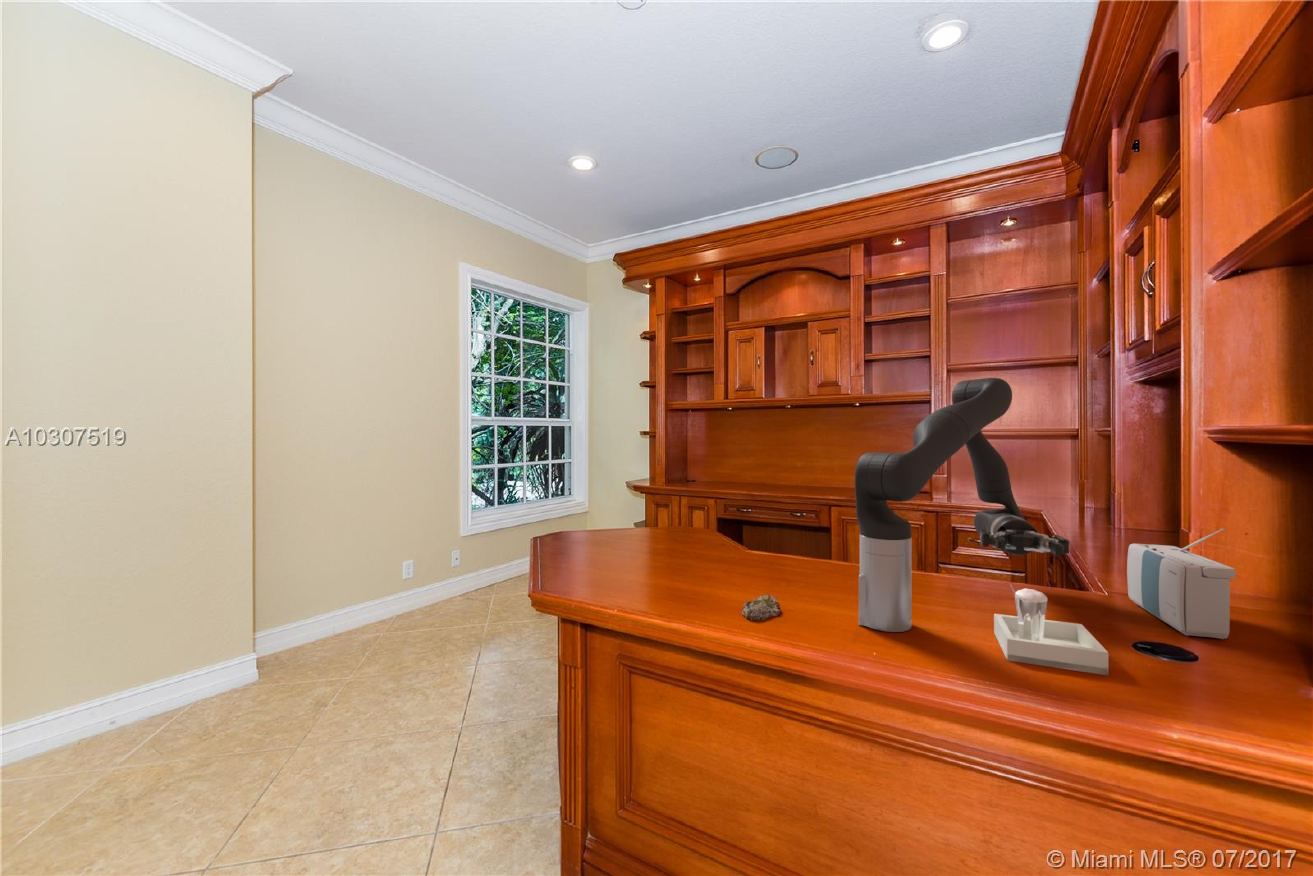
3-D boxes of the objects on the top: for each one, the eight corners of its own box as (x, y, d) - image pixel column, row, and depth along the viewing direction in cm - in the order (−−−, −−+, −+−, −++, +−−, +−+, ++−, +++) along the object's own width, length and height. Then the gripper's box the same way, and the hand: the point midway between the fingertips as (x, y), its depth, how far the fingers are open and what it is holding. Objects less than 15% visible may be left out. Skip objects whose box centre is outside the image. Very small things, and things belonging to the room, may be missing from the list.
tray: (1007, 660, 86) (1007, 639, 86) (994, 632, 98) (994, 613, 98) (1108, 675, 80) (1108, 652, 80) (1081, 644, 92) (1081, 624, 92)
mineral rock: (749, 592, 116) (783, 588, 112) (755, 612, 115) (789, 608, 111) (728, 607, 107) (764, 603, 103) (734, 629, 106) (770, 626, 102)
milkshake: (1005, 636, 93) (1005, 580, 93) (1039, 639, 92) (1039, 582, 91) (1015, 647, 89) (1015, 588, 88) (1052, 650, 87) (1052, 590, 87)
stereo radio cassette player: (1125, 602, 114) (1125, 510, 114) (1174, 606, 111) (1174, 512, 111) (1178, 637, 95) (1179, 527, 95) (1239, 644, 92) (1240, 530, 92)
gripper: (974, 514, 116) (986, 524, 102) (1053, 519, 110) (1077, 531, 96) (974, 548, 116) (985, 563, 102) (1053, 555, 110) (1077, 572, 96)
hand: (1030, 547), depth 99 cm, fingers open, 8 cm apart
